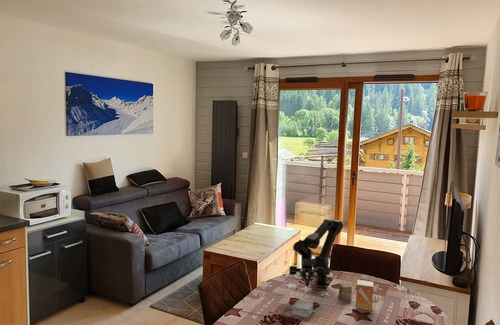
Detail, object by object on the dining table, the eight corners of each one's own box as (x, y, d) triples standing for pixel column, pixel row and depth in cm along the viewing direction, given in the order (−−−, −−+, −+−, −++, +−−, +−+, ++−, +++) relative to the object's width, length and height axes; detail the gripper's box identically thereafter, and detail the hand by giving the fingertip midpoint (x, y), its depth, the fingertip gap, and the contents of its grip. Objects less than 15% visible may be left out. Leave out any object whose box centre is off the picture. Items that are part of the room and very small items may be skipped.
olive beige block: (338, 295, 212) (339, 283, 211) (347, 295, 213) (348, 282, 212) (342, 299, 207) (343, 287, 207) (351, 299, 208) (352, 286, 207)
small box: (355, 308, 198) (356, 284, 196) (356, 303, 204) (357, 279, 202) (372, 311, 195) (373, 286, 194) (372, 305, 201) (373, 281, 200)
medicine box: (298, 307, 198) (292, 314, 190) (298, 298, 198) (292, 305, 190) (313, 310, 194) (307, 318, 187) (313, 302, 194) (307, 309, 186)
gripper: (289, 251, 208) (289, 279, 198) (325, 252, 206) (326, 281, 197) (289, 260, 217) (289, 287, 207) (323, 261, 215) (324, 289, 205)
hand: (307, 286), depth 204 cm, fingers closed
